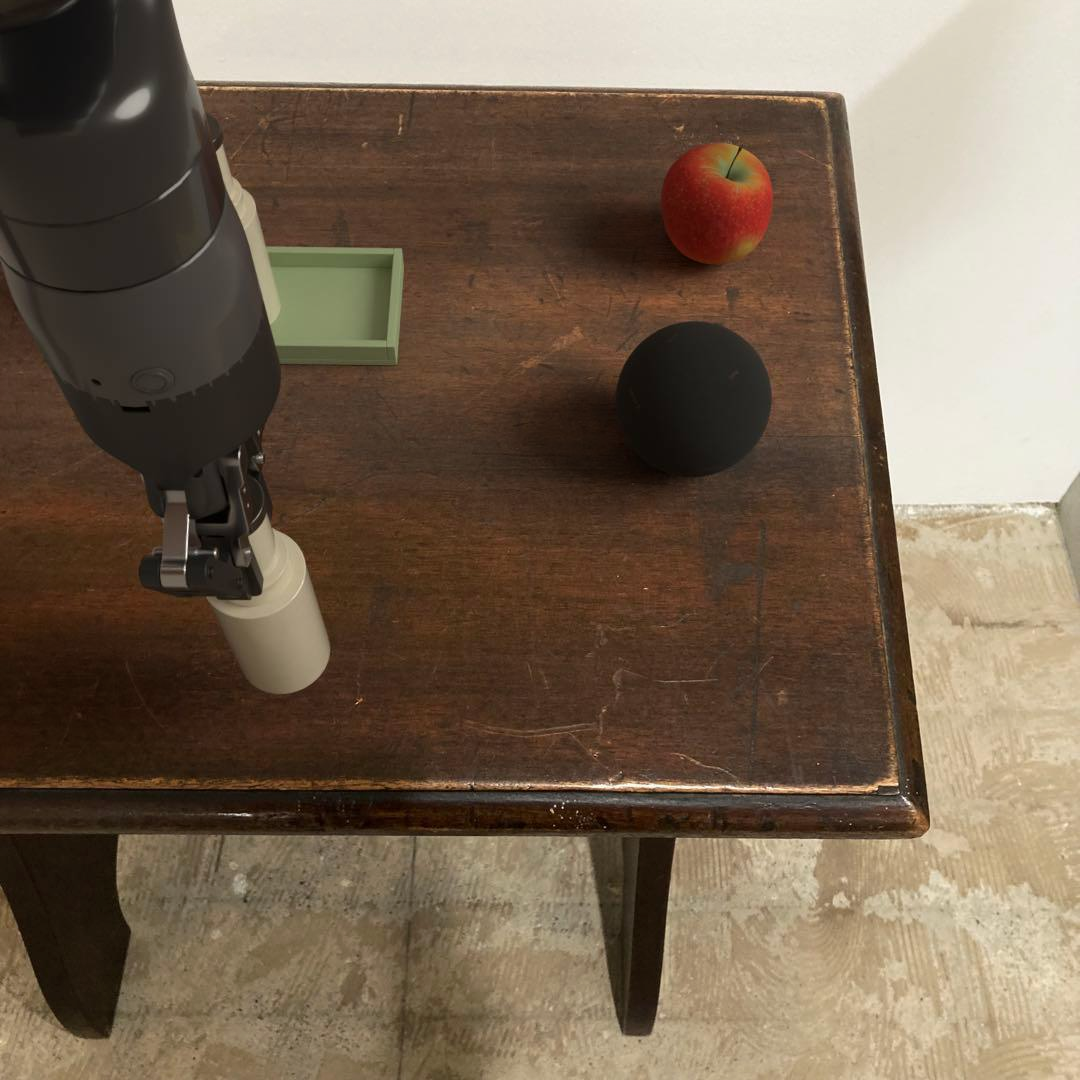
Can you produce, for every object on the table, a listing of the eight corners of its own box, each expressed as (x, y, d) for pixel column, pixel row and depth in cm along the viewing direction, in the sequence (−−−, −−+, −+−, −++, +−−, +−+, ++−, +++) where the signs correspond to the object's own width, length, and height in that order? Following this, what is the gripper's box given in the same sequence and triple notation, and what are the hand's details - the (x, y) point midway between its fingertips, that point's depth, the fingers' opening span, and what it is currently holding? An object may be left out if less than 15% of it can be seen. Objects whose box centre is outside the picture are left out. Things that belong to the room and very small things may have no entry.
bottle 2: (233, 694, 62) (158, 551, 48) (245, 611, 65) (176, 452, 51) (326, 694, 62) (277, 552, 48) (333, 612, 65) (289, 454, 51)
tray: (81, 362, 81) (71, 342, 79) (105, 263, 85) (96, 243, 84) (397, 365, 81) (394, 346, 80) (404, 267, 86) (401, 247, 84)
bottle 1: (206, 334, 82) (144, 158, 68) (215, 281, 84) (157, 101, 70) (276, 335, 82) (229, 160, 68) (284, 282, 84) (239, 102, 70)
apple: (662, 202, 90) (678, 96, 81) (764, 219, 89) (792, 114, 80) (646, 278, 86) (661, 176, 77) (753, 296, 85) (781, 195, 77)
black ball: (583, 462, 78) (592, 370, 69) (654, 363, 82) (671, 265, 73) (714, 530, 75) (740, 444, 67) (780, 425, 80) (813, 331, 71)
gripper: (76, 155, 42) (186, 427, 57) (-14, 481, 35) (139, 693, 50) (282, 160, 42) (338, 430, 57) (234, 484, 35) (312, 695, 50)
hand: (245, 552), depth 54 cm, fingers closed on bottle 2, 3 cm apart
